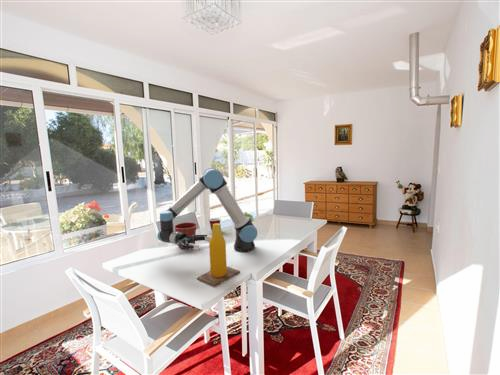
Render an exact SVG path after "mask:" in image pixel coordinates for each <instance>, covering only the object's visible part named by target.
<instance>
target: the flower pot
mask: <svg viewBox="0 0 500 375" xmlns="http://www.w3.org/2000/svg"><path fill="white" fill-rule="evenodd" d="M197 226H198V224H197V223H195V222H190V221H189V222H180V223H177V224H174V225H173V229H174V231H176V232H181V233H186V234H187V236H192V235H197V234H196V230H197ZM193 240H194V239H193ZM190 243H191V244H196V241H195V242H190ZM190 243H188V244H190ZM178 248H179V249H182V248H181V247H180V246H178ZM182 250H183V249H182ZM185 250H187V248H186V249H185Z"/></svg>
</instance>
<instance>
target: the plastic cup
mask: <svg viewBox="0 0 500 375" xmlns="http://www.w3.org/2000/svg"><path fill="white" fill-rule="evenodd" d="M221 220H222V218H219V217H218V218H217V217H214V218H209V219H208V221H209V225H210V230H211V231H212V228H213V224H214V223H220V224H221Z"/></svg>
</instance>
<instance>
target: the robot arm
mask: <svg viewBox="0 0 500 375" xmlns="http://www.w3.org/2000/svg"><path fill="white" fill-rule="evenodd" d="M227 185H228V182H227V180H226V179H225V177H224V176H223V173H222V172H221V171H220V170H219V169H218V168H215V167H210V168H207V169H205V170H204V172H203V173H202V174H201V175H200V177H198V179H197V181H196V182H195V183H194V184H193V185H192V186H191V187H190V188H188V190H187V191H185V192H184V193H183V194H182V195H181V196H180V197H179V198H178V199H177V200H176V201H175V202H174V203H173V204H171V206H170V207H168V208H167V209H165V210H163V211H161V212H159V221H160V230H159V231H158V232H157V240H158V241H161V242H163V243H168V244H169V243H170V244H174V245H176V246H178V247H179V246H180V247H181V248H182V250H187V251H188V250H190V249H191V250H195V251H199V250H200V244H196V242H198V241H199V242H201V241H202V242H203V241H205V242H208V243H209V242H210V239H211V236H208V234H195V235H192V236H187V234H186V233H181V232H176V231H175V230H174V219H175V218H176V217H178V216H179V214H181V213H182V212H183V211H184V210H185V209H186V208H188V206H189V205H190V204H191V203H193V201H195V200H196V199H197V198H198V197H199V196H201V194H202V193H203V192H205V190H209V191H210V193H211V194H214V195H215V196H216V198H217V199H218V200H219V202H220V204H221V205H222V207H223V208H224V210H225V211H226V213H227V214H228V216H229V217H230V219H231V221H232V223H233V229H235V240H234V244H233V250H234V251H236V252H240V253H241V252H242V253H248V252H252V251H254V250H255V249H256V244H255V241H256V238H257V237H258V229H257V228H256V226H255V225H254V224H253V218H252V216H246V215H245V214H244V212H243V211H242V209H241V208H240V206H239V203H237V200H235V198H234V196H233V195H232V193H231V191H230V190H229V187H228V186H227ZM193 239H194V240H193ZM190 242H195V244H191V243H190ZM188 243H190V244H188ZM181 248H180V249H181ZM186 248H187V249H186Z"/></svg>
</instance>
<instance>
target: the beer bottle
mask: <svg viewBox="0 0 500 375" xmlns="http://www.w3.org/2000/svg"><path fill="white" fill-rule="evenodd" d="M210 237H211V239H210V242H208V244H209V245H208V248H209V267H210V270H209V271H210V273H211V276H213V277H216V278H219V277H223V276H225V275H226V274H227V249H226V248H227V244H226V239H225V238H224V235H223V232H222V227H221V222H220V223H214V224H213V228H212V230H211V236H210Z"/></svg>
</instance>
